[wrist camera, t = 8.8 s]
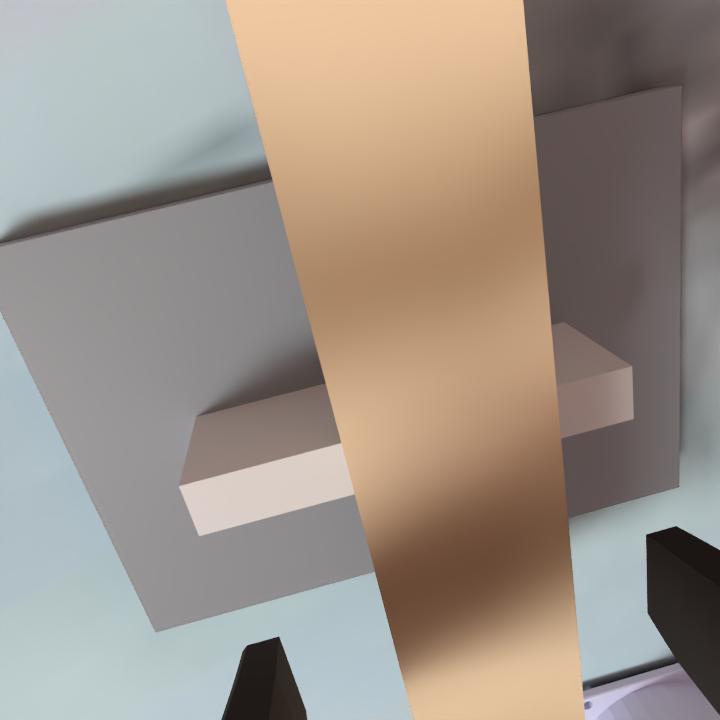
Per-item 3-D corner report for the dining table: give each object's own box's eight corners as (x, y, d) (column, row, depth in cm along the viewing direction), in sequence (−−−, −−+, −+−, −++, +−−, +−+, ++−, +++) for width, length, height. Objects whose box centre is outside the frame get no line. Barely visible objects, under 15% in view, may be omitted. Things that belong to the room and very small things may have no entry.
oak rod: (521, 707, 19) (599, 887, 15) (420, 737, 19) (468, 928, 15) (403, -77, 11) (503, -228, 6) (219, -37, 11) (182, -164, 6)
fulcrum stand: (655, 87, 18) (794, 73, 13) (659, 469, 23) (757, 554, 18) (-8, 245, 16) (-115, 289, 12) (161, 607, 22) (132, 734, 17)
